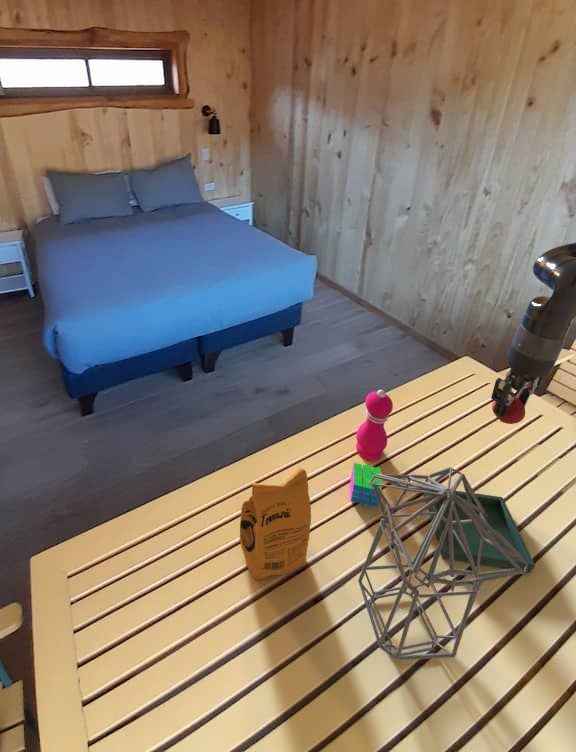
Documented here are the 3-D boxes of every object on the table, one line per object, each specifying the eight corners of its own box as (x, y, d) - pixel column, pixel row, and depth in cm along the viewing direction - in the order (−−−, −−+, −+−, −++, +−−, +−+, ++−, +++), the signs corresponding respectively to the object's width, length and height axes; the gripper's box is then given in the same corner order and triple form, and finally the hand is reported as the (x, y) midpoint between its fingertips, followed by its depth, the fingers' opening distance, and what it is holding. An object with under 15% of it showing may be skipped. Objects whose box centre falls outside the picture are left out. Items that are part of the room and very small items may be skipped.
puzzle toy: (377, 508, 88) (381, 491, 86) (350, 501, 90) (353, 484, 87) (376, 484, 93) (380, 468, 90) (350, 478, 95) (353, 462, 92)
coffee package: (235, 534, 84) (235, 463, 74) (290, 519, 86) (297, 449, 76) (250, 587, 75) (252, 515, 65) (311, 569, 78) (322, 497, 68)
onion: (518, 418, 89) (530, 390, 86) (519, 436, 85) (532, 408, 81) (487, 408, 92) (498, 381, 88) (487, 425, 88) (498, 397, 84)
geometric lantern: (342, 576, 76) (370, 450, 61) (421, 569, 77) (469, 442, 61) (377, 690, 62) (425, 563, 47) (474, 679, 63) (554, 552, 47)
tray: (498, 505, 88) (502, 497, 87) (530, 573, 76) (535, 565, 75) (423, 494, 91) (425, 486, 89) (442, 558, 79) (445, 550, 78)
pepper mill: (353, 458, 99) (365, 398, 90) (354, 436, 105) (365, 377, 96) (384, 466, 97) (399, 405, 88) (383, 442, 103) (397, 383, 94)
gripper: (532, 369, 74) (503, 433, 81) (578, 348, 79) (547, 411, 86) (492, 346, 80) (469, 408, 87) (537, 328, 85) (512, 388, 92)
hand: (508, 409), depth 87 cm, fingers closed on onion, 6 cm apart
